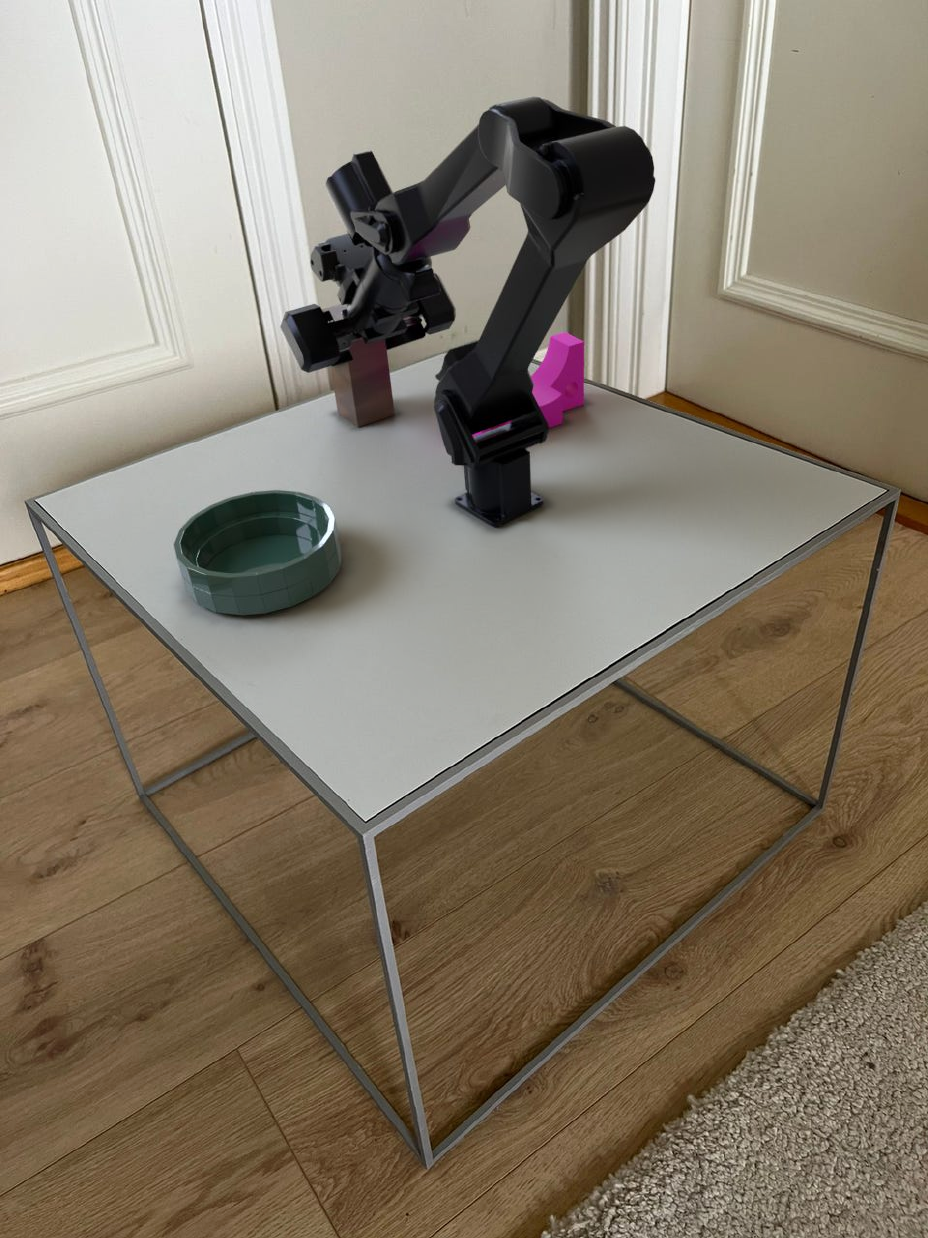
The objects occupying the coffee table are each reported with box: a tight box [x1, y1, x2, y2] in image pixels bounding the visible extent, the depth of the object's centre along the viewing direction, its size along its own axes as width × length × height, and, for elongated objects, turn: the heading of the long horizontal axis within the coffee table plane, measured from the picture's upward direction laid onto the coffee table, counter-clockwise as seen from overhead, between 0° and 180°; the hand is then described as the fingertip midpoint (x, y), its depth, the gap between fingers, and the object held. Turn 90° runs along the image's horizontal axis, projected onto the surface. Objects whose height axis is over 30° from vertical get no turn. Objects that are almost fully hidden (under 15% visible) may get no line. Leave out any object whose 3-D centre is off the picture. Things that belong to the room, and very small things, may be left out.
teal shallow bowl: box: [173, 489, 343, 616], centre depth 85 cm, size 14×14×4 cm
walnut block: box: [321, 303, 396, 428], centre depth 108 cm, size 5×5×12 cm
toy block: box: [472, 331, 585, 437], centre depth 105 cm, size 15×6×8 cm, turn 119°
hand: (352, 356), depth 109 cm, fingers open, 5 cm apart
